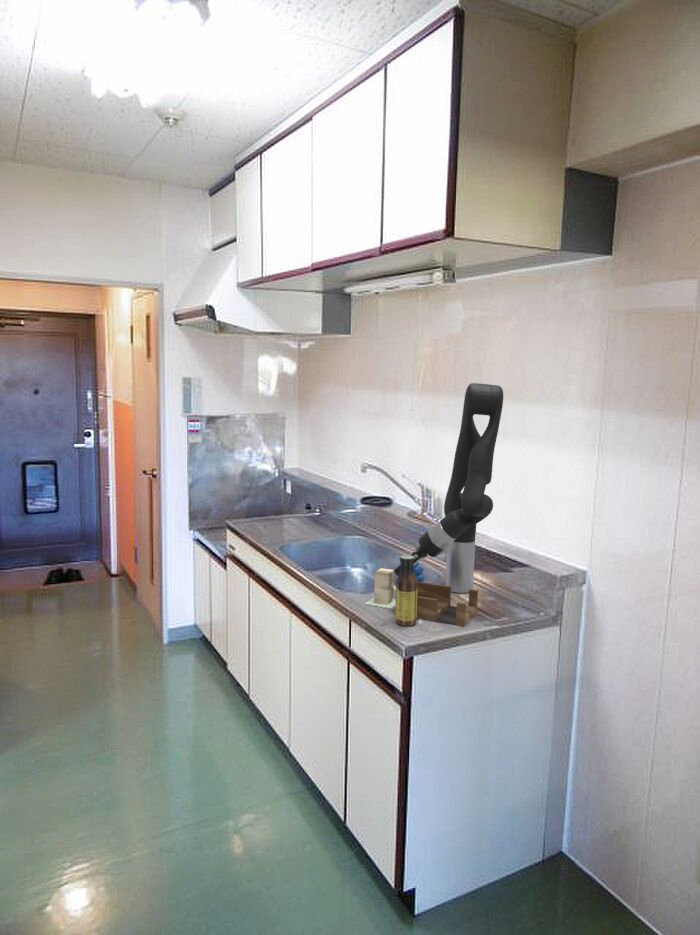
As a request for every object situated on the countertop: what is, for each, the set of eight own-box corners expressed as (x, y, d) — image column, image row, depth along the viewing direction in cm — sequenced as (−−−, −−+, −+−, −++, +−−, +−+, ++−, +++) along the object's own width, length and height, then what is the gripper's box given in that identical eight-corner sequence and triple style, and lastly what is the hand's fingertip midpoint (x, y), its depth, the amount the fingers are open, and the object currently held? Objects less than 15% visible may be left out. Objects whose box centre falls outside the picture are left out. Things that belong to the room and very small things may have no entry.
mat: (375, 596, 217) (375, 595, 217) (401, 601, 213) (401, 599, 213) (364, 604, 209) (364, 603, 209) (391, 609, 205) (391, 608, 205)
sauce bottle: (403, 617, 198) (405, 552, 195) (420, 622, 194) (423, 556, 191) (390, 623, 193) (392, 556, 190) (408, 628, 189) (410, 560, 186)
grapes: (433, 597, 218) (434, 561, 217) (416, 600, 215) (417, 563, 213) (412, 587, 228) (413, 553, 227) (396, 590, 225) (397, 555, 223)
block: (380, 598, 214) (381, 568, 213) (393, 600, 212) (394, 570, 211) (374, 602, 210) (374, 571, 208) (387, 605, 208) (388, 573, 207)
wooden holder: (412, 600, 214) (413, 580, 213) (477, 610, 205) (478, 590, 205) (395, 614, 200) (396, 593, 199) (464, 626, 191) (465, 604, 191)
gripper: (436, 524, 209) (401, 555, 215) (421, 533, 196) (384, 566, 202) (452, 543, 207) (416, 573, 213) (438, 553, 194) (400, 585, 200)
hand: (400, 570), depth 208 cm, fingers open, 8 cm apart
